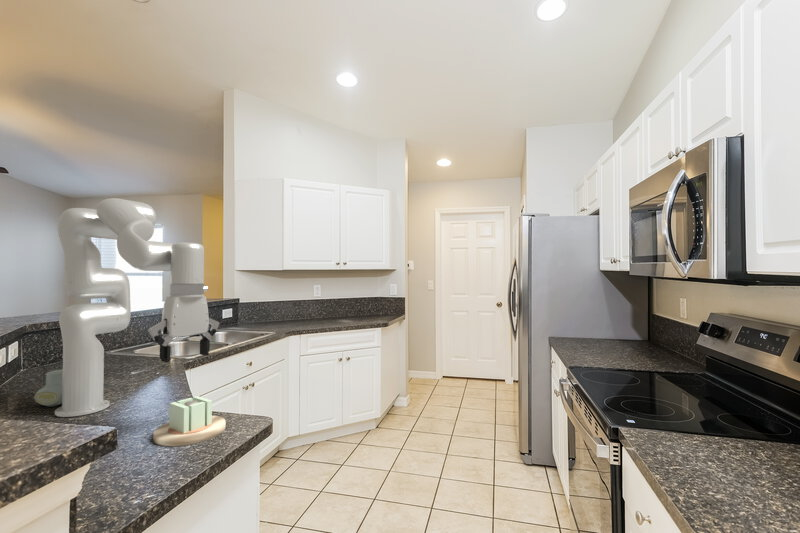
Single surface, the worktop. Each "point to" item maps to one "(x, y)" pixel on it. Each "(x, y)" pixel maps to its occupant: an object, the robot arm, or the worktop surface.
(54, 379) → the air freshener
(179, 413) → the collar
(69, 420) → the worktop surface
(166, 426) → the post base
